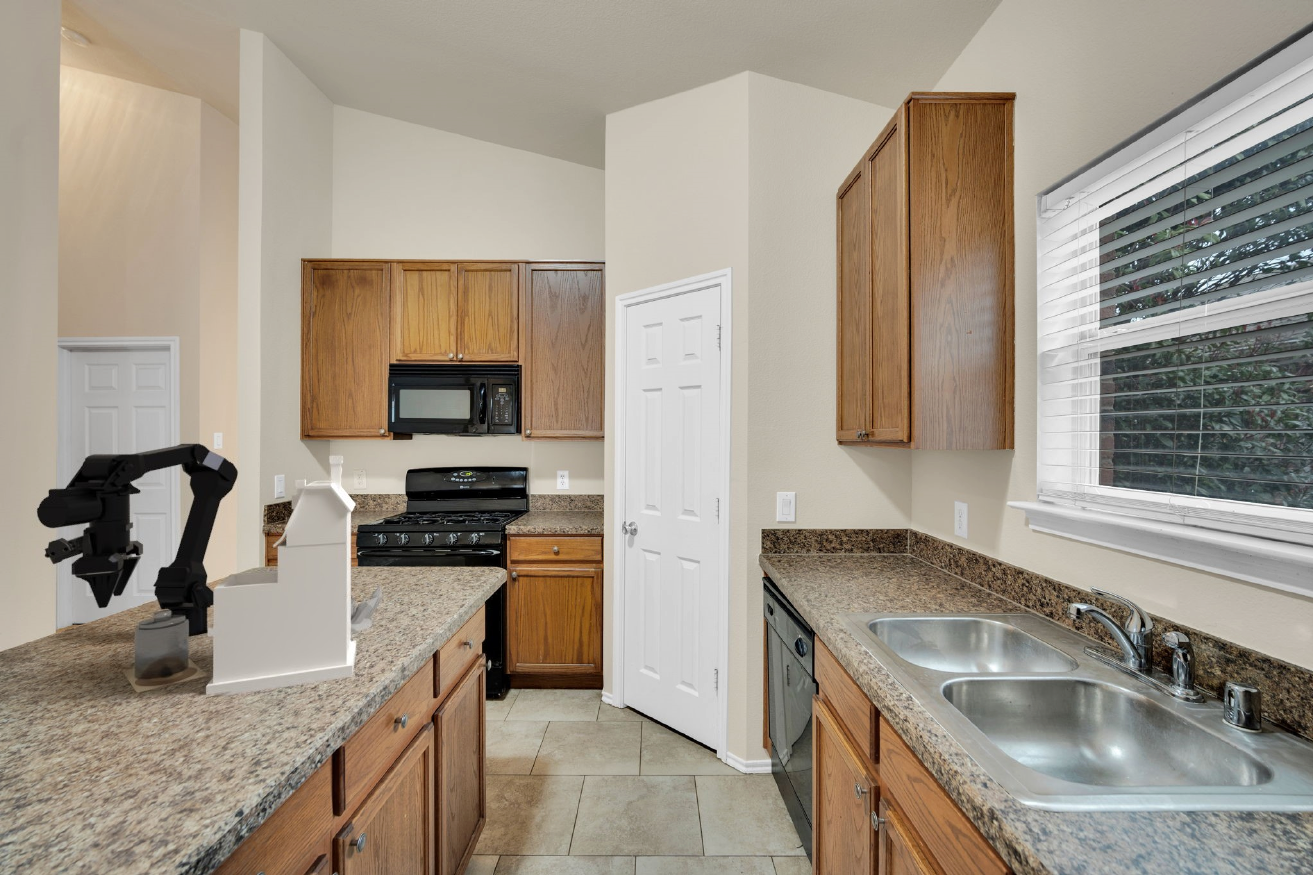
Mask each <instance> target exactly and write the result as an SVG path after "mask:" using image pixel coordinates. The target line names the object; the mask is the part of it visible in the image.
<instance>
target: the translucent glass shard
mask: <svg viewBox="0 0 1313 875" xmlns="http://www.w3.org/2000/svg"><path fill="white" fill-rule="evenodd" d="M382 591H383V590H382V585H381V584H380V585H379V586H378V587H377V588H376V589H375V591H373V592H372V593H371V596H370V599H368V600H367V599H366V597H365V598H364V599H362V601H361V602H360V603H359V604H358V605H357V604H355V603H356V599H353V600H351V633H354V632H360V631H365V630H367V629H369V628H371V627H372V626H373V624H374V622H373V620H372V619H371V617H373V615H374V613H375V611H376V609H377V608H378V606H379V605H380V604H381V601H382V599H383V592H382Z"/></svg>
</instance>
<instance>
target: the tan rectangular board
mask: <svg viewBox="0 0 1313 875" xmlns="http://www.w3.org/2000/svg"><path fill="white" fill-rule="evenodd" d="M121 672H122V673H123V675H125V677H126V679H127V680H128V681H129V683H130V684H131V685H130V686H132V688H133V689H134V690H135V692H136V693H142V692H145V691H151V690H154V689H157V688H158V689H159V688H162V687H166V686H170V685H174V684H178V683H182V682H186V681H191V680H194V679H198V678H203V677H206V676H208V675H207V674H206V673H205V672H204V671H203V670H202V669H201V668H200V667H199V666H198V665H197V664H196V663H194V661H193V660H192V659H190V658H189V666H188V668H187V669H185V670H183V671H181V672H178V673H176V674H172V675H169V676H164V677H159V678H153V679H137V678H135V667H133V668H129V669H125V670H122V671H121Z"/></svg>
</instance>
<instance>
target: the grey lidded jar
mask: <svg viewBox="0 0 1313 875" xmlns="http://www.w3.org/2000/svg"><path fill="white" fill-rule="evenodd" d="M189 639H190V637H189V620H188V619H185V616H184V615H171V610H169V609H164V610H162V609H161V610H158V611H154V612H153V617H151V618H147V619H144V620H141V621H139V622H138V625H137V626H136V627H134V668H135V678H137V679H153V678H159V677H164V676H169V675H172V674H176V673H178V672H181V671H183V670H185V669H187V668H188V666H189V659H190V658H189V656H190V655H189V654H190V653H189V652H190V649H189V648H190V647H189V644H190V642H189V641H190V640H189Z"/></svg>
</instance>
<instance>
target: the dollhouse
mask: <svg viewBox="0 0 1313 875" xmlns="http://www.w3.org/2000/svg"><path fill="white" fill-rule="evenodd" d="M328 458H329V459H328V460H329V461H328V462H329V465H330V472H331V473H330V480H314V481H312V482H310V483H306V482H307V480H306V479H307V478H305V479H295V480H294V481H295V482H294V483H295V485H294V486H295V488H294V490H295V489H296V493H293V494H291V509H292V510H293V511H292V512H291V515H290V517H289V519H288V521H287V523H286V525H285V528H284V529H283V530H284V532H283V534H282V536H281V537H280V538H279V539H278V540H277V541H276V542H275V543H274V544H272V547H273V548H275V547H276V546H277V570H271V571H270V570H269V571H268V570H267V571H259V572H258V571H257V572H256V571H255V572H246V573H245V572H244V573H243V572H242V573H234V574H233V573H232V574H231V573H230V575H227V577H226V578H225V579H223V580H222V581H221V582H220V583H219V584H217V585H216V586H215V587H214V588H213V592H214V605H213V619H212V620H213V625H211V626H209V627H207V630H208V633H207V637H209V638H210V637H213V640H212V641H213V644H212V645H213V646H212V647H213V650H212V651H213V654H212V655H213V656H212V657H213V660H212V661H213V662H212V663H213V666H212V667H213V668H212V670H213V673H212V675H213V676H212V678H211V679H210V681H209V682H208V683H207V685H206V686H205V694H206V696H207V695H211V696H207V697H206V699H211V697H212V698H218V697H223V696H224V697H225V696H231V695H239V694H245V693H250V692H257V691H263V690H264V691H265V690H272V689H278V688H284V687H285V688H286V687H292V686H297V685H305V684H311V683H319V682H325V681H331V680H337V679H344V678H352V677H353V674H354V669H355V660H356V654H357V640H351V639H352V638H351V637H352V636H351V635H352V634H351V633H352V632H351V602H352V599H351V597H352V586H351V585H352V566H351V565H352V551H351V550H352V522H351V521H352V514H351V513H352V512H353V511H354V508H355V507H356V504H357V503H356V502H355V501H354V500H353V499H352V498H351V497H350V494H348V492H346V490H345V489H344V488H343V486H342V474H343V467H342V465H343V463H344V456H343V455H329V456H328ZM212 694H214V695H212Z"/></svg>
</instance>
